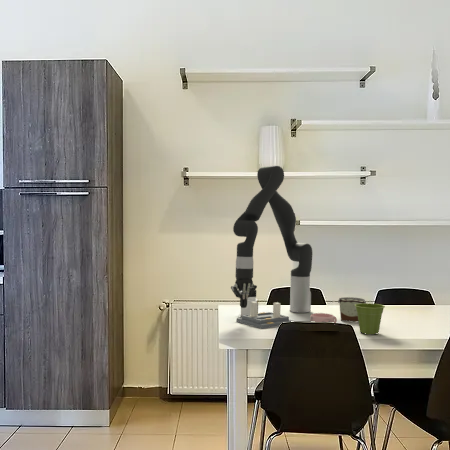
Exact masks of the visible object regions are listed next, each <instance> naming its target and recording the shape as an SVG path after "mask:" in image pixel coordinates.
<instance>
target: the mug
mask: <svg viewBox="0 0 450 450" xmlns="http://www.w3.org/2000/svg"><path fill="white" fill-rule="evenodd" d="M309 318H310V319H309V322H310V321H315V322H334V323H336V324H337V323H338V319H337V317H336V316H334V315H333V314H332V313H323V312H320V313H319V312H318V313H316V312H315V313H311V314H310V317H309Z"/></svg>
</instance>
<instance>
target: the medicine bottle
mask: <svg viewBox="0 0 450 450" xmlns="http://www.w3.org/2000/svg"><path fill="white" fill-rule="evenodd" d="M251 302H258V303H259V298H257V290H255V291H254V293H253V294H252V296H251V297H249V298H248V299H247V306H246V308H241V307H240V316H241V315H249V314H250V303H251ZM257 313H259V306H258V307H257Z"/></svg>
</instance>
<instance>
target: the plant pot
mask: <svg viewBox="0 0 450 450" xmlns="http://www.w3.org/2000/svg"><path fill="white" fill-rule="evenodd" d="M355 306H356V311H357V314H358V321H359V322H358V325H359V333H360V332H362V333H361V334H363V333H366V334H367V335H369V334H373V335H376V334H375V333H378V332H379V333H380V328H381V322H382V317H383V316H382V315H383V312H384V309H385V307H386V306H385V305H384V304H379V303H367V302H366V303H361V304H355ZM379 333H378V334H379ZM366 334H365V335H366Z"/></svg>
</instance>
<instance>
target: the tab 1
mask: <svg viewBox="0 0 450 450" xmlns="http://www.w3.org/2000/svg"><path fill="white" fill-rule="evenodd" d="M257 307H258V308H259V301H258V302H251V303H250V316H249V317H254V316H257Z"/></svg>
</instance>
